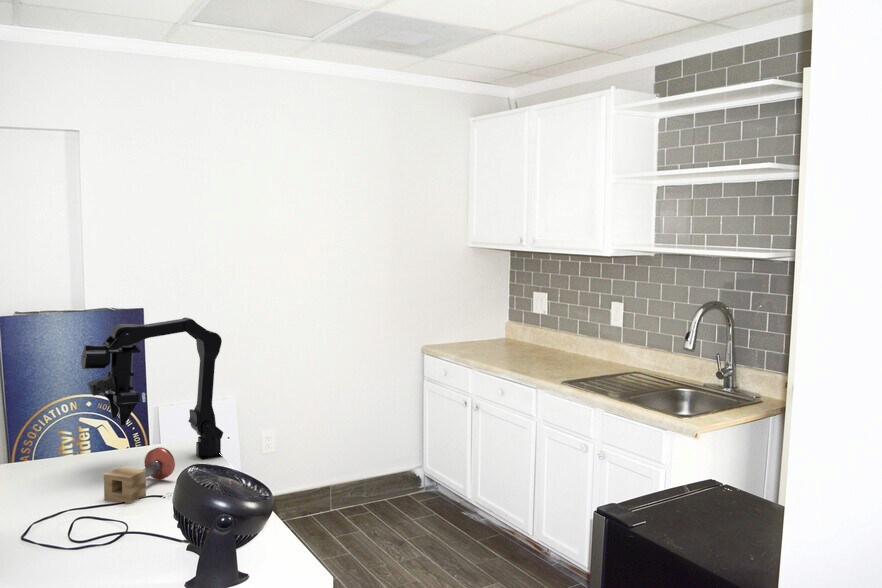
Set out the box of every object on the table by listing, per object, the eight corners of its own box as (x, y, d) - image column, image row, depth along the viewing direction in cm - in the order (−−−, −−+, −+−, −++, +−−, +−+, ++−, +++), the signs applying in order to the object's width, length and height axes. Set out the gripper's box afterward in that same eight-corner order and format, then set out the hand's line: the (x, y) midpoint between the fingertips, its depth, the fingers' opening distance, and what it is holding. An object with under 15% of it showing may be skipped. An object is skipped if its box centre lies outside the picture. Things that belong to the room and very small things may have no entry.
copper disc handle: (148, 475, 200) (148, 445, 199) (174, 479, 197) (174, 449, 197) (121, 488, 189) (121, 457, 189) (149, 492, 187) (149, 460, 186)
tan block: (120, 491, 188) (120, 466, 188) (145, 495, 186) (145, 470, 186) (104, 499, 183) (103, 474, 182) (130, 503, 180) (129, 477, 180)
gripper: (83, 363, 205) (80, 416, 205) (98, 374, 190) (95, 431, 191) (124, 362, 212) (121, 413, 212) (141, 373, 197) (138, 427, 198)
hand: (118, 421), depth 203 cm, fingers open, 9 cm apart
